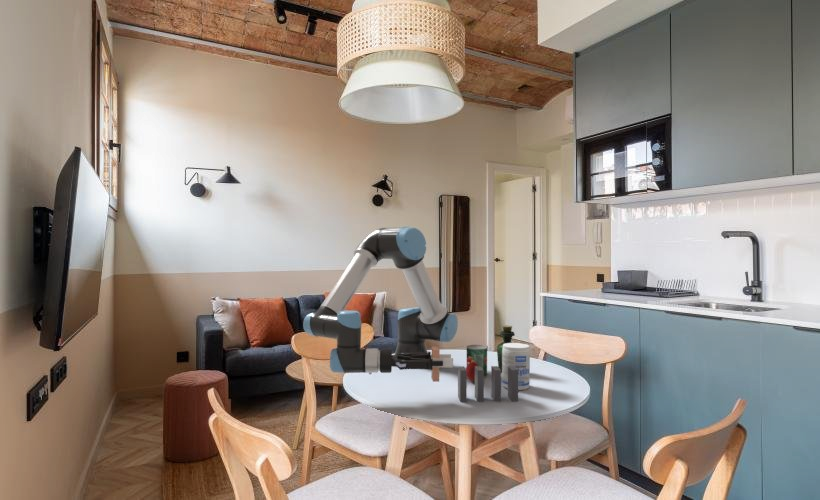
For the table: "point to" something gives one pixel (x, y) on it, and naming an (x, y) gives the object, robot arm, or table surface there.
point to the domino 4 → (512, 383)
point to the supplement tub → (516, 363)
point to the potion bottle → (507, 338)
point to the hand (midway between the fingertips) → (451, 360)
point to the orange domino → (435, 369)
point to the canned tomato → (478, 356)
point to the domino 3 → (496, 383)
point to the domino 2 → (479, 384)
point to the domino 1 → (462, 384)
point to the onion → (471, 371)
